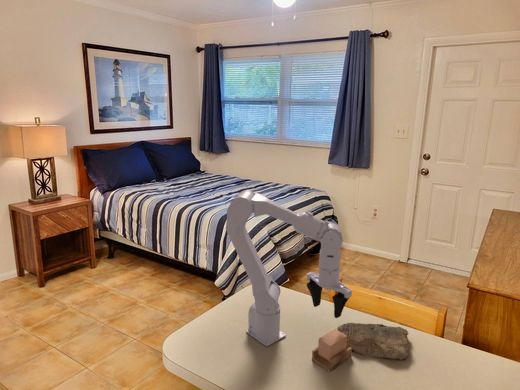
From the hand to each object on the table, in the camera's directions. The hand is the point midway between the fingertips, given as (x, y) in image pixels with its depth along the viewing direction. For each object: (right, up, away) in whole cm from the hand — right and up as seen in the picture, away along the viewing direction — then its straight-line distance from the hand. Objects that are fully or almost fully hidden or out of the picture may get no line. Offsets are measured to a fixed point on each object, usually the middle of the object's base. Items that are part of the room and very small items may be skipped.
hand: (326, 310), depth 108 cm
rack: (0, -11, -5) cm, 12 cm away
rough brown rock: (+13, -10, +2) cm, 17 cm away
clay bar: (0, -9, -5) cm, 11 cm away
